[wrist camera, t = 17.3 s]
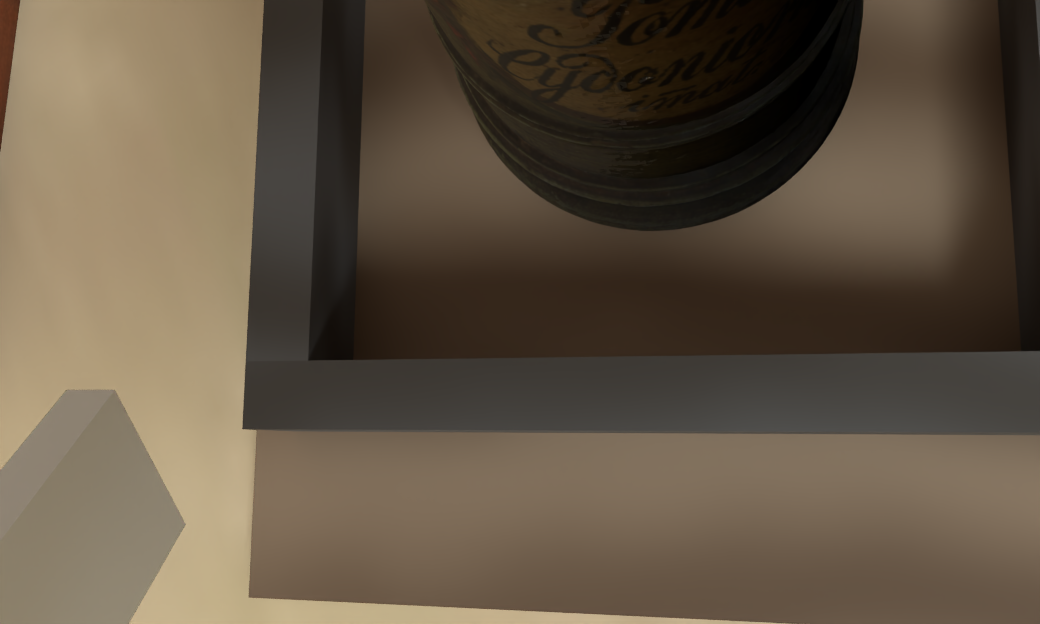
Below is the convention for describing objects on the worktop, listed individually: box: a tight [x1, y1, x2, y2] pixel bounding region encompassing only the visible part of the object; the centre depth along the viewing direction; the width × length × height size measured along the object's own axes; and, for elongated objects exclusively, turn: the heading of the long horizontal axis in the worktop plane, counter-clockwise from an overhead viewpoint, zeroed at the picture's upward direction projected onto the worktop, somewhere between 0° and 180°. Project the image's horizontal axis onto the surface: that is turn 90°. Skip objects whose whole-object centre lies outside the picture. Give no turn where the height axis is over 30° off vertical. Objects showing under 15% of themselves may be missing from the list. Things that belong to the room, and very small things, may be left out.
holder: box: [242, 0, 1040, 624], centre depth 22 cm, size 26×20×4 cm
